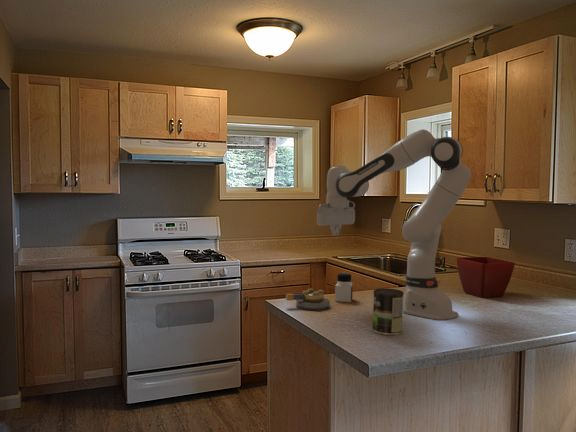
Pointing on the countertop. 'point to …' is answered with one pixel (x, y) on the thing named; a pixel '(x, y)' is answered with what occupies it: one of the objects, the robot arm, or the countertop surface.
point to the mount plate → (313, 304)
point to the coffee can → (387, 311)
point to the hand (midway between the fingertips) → (335, 235)
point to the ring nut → (307, 296)
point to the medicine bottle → (343, 288)
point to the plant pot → (484, 275)
